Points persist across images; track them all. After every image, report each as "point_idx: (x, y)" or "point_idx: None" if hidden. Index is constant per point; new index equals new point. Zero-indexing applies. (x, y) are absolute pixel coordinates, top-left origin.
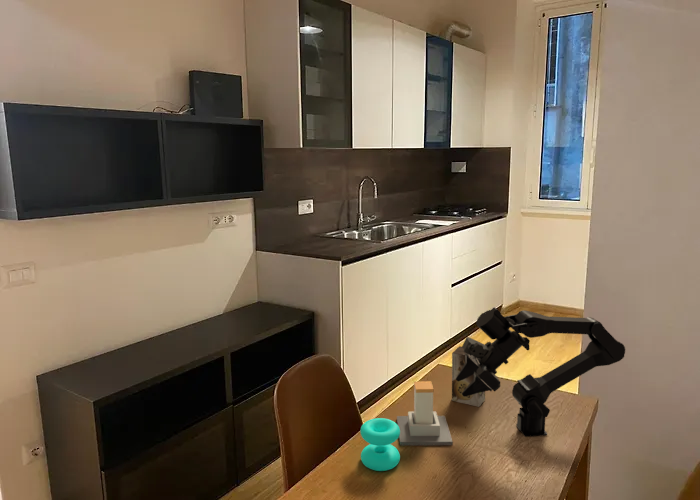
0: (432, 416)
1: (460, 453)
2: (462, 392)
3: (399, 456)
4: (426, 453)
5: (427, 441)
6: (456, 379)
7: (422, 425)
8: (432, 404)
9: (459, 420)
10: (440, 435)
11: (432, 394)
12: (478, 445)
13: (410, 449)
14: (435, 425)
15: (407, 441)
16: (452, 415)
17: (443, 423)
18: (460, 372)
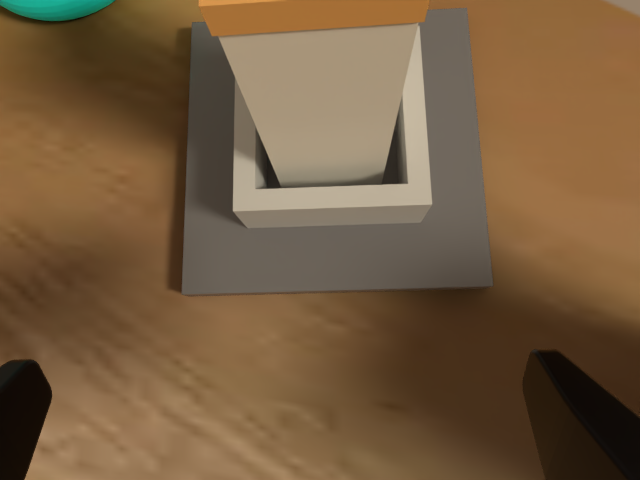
0: (267, 149)
1: (106, 328)
2: (8, 371)
3: (23, 4)
4: (120, 153)
5: (191, 156)
6: (531, 357)
7: (240, 104)
8: (248, 102)
9: (474, 381)
10: (250, 232)
11: (224, 42)
12: (179, 450)
13: (160, 80)
14: (236, 182)
15: (196, 56)
16: (537, 345)
17: (390, 265)
18: (619, 453)
